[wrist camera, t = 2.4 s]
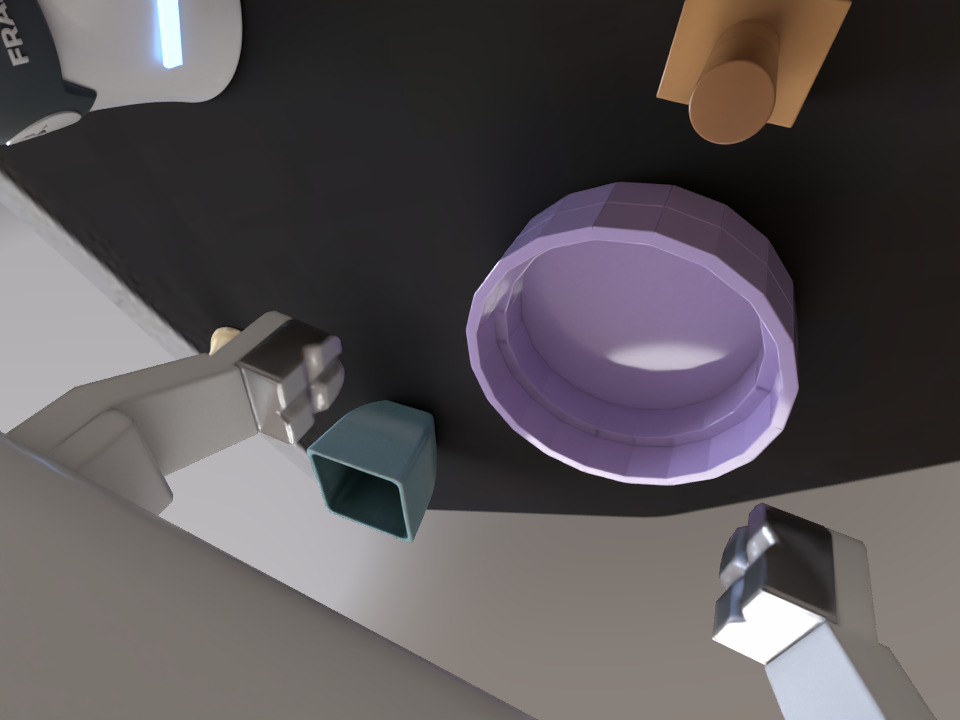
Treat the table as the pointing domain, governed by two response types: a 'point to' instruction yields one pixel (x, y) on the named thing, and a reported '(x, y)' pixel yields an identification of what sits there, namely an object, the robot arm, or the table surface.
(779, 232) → the table surface
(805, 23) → the brush
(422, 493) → the flower pot
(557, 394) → the bowl
